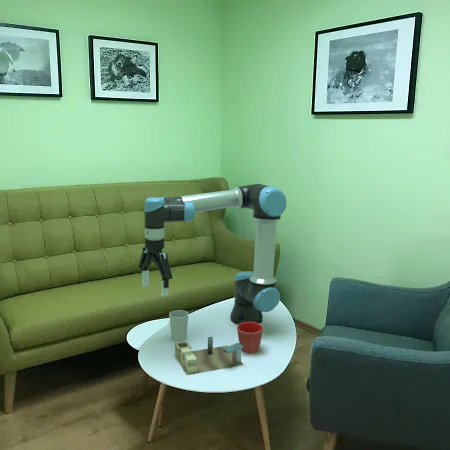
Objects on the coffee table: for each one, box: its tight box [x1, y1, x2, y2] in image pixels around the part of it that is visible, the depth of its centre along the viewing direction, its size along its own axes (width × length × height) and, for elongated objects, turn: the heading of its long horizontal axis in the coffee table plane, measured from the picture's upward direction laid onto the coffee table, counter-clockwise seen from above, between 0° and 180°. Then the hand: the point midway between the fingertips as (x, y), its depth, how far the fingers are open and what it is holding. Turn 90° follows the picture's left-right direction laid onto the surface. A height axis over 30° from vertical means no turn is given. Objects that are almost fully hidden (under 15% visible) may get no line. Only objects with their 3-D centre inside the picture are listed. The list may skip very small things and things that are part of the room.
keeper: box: [222, 342, 243, 364], centre depth 176 cm, size 3×8×7 cm, turn 131°
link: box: [174, 341, 197, 373], centre depth 176 cm, size 15×5×5 cm, turn 21°
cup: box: [168, 309, 189, 343], centre depth 196 cm, size 8×8×12 cm
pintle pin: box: [207, 336, 214, 354], centre depth 184 cm, size 2×2×6 cm
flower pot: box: [236, 322, 264, 354], centre depth 190 cm, size 11×11×10 cm
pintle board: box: [176, 345, 245, 376], centre depth 180 cm, size 22×17×1 cm
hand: (155, 290), depth 184 cm, fingers open, 13 cm apart
